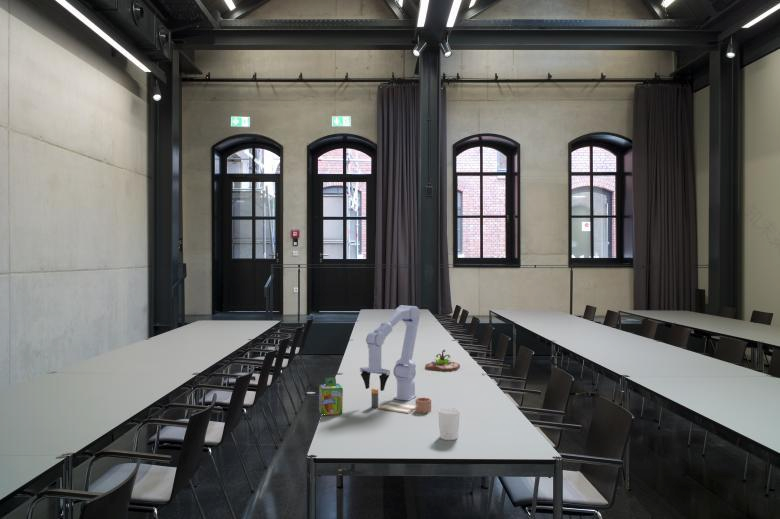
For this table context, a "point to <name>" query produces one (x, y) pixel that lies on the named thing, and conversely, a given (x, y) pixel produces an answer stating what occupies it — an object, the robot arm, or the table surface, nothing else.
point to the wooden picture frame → (398, 407)
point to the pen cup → (423, 405)
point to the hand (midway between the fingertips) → (374, 389)
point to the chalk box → (330, 398)
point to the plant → (442, 364)
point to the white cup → (449, 423)
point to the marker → (374, 398)
